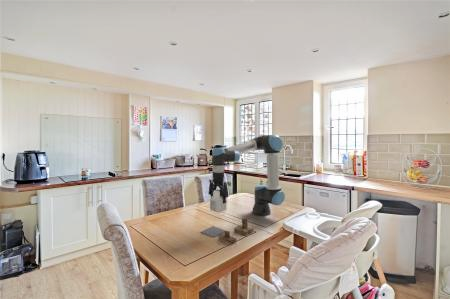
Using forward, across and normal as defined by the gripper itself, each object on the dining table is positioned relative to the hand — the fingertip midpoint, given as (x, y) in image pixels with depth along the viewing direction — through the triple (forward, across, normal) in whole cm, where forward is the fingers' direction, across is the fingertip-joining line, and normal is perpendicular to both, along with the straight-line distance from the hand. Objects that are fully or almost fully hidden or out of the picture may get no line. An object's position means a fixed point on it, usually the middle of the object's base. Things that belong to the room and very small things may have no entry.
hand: (218, 206), depth 138 cm
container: (+2, 0, 0) cm, 2 cm away
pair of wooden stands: (+17, +12, +5) cm, 21 cm away
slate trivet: (+17, -4, -1) cm, 18 cm away
